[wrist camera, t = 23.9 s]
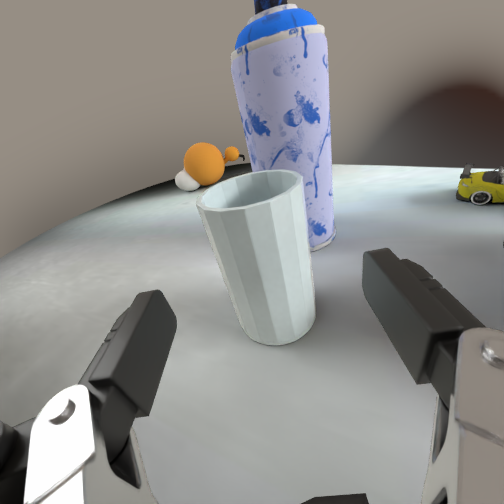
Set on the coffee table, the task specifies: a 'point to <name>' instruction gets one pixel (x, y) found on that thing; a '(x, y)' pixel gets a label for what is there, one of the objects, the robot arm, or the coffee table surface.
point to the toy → (204, 165)
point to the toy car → (481, 185)
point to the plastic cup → (263, 252)
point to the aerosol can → (288, 104)
